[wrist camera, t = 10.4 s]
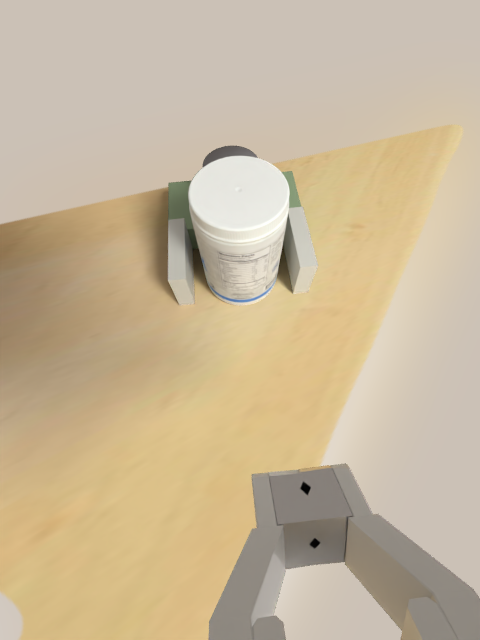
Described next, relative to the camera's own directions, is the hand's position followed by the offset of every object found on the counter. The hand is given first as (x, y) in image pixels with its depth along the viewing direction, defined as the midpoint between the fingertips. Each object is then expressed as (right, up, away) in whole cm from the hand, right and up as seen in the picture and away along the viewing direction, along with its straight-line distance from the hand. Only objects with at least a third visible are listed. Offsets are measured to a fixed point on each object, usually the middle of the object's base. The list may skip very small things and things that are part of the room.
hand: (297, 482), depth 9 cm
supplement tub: (-2, +11, +30) cm, 32 cm away
